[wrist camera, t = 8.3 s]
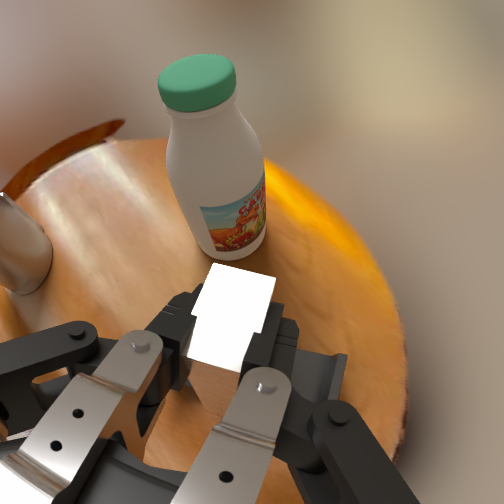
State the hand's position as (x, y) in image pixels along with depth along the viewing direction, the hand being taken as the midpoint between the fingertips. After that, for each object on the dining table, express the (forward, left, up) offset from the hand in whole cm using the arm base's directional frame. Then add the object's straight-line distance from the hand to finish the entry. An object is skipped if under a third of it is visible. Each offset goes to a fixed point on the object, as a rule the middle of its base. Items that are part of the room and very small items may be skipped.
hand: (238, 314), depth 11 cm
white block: (+3, -2, -7) cm, 8 cm away
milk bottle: (-13, +3, -18) cm, 22 cm away
